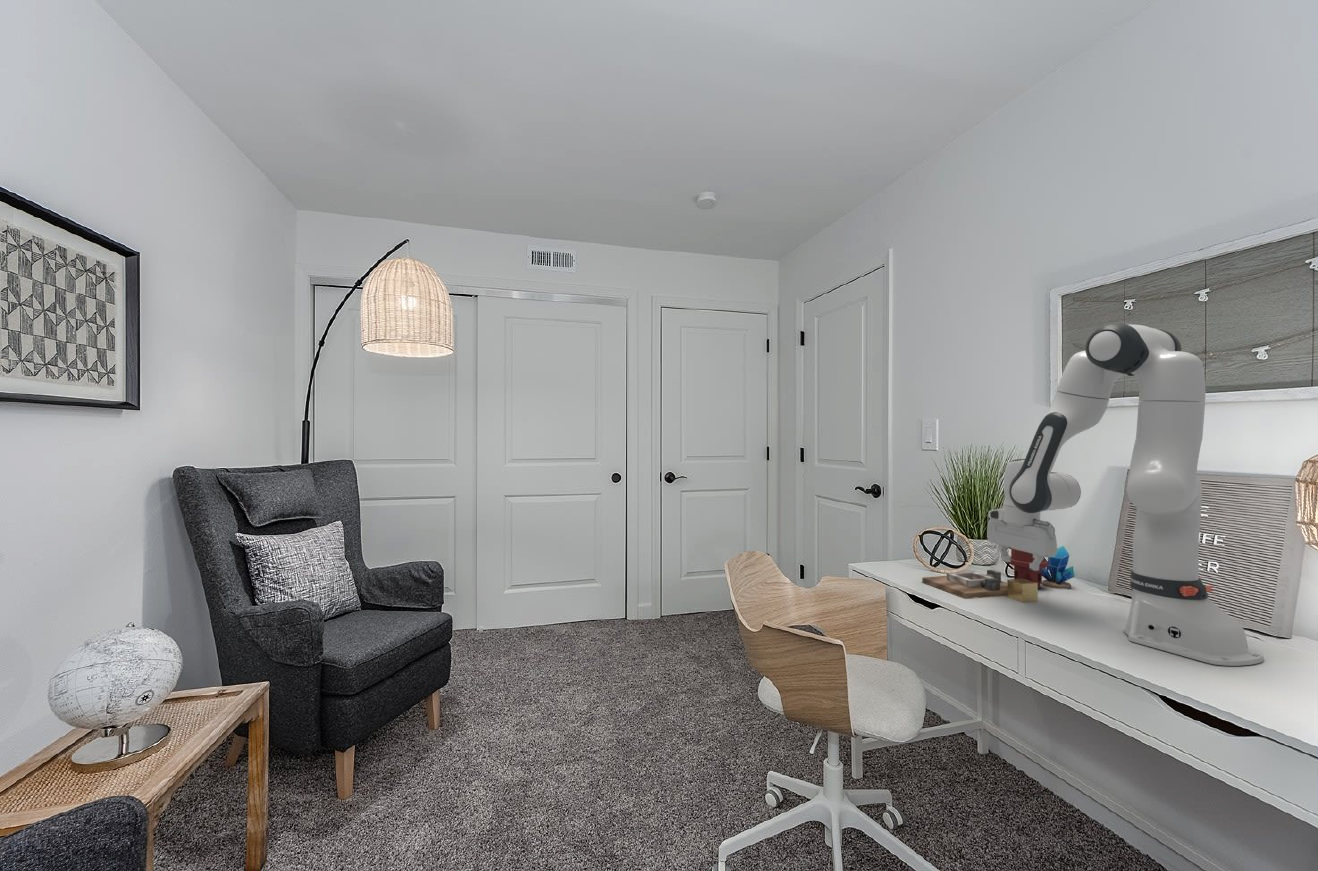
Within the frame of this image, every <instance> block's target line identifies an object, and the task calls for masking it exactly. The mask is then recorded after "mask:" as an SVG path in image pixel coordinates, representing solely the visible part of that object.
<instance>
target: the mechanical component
mask: <svg viewBox="0 0 1318 871" xmlns="http://www.w3.org/2000/svg"><path fill="white" fill-rule="evenodd" d="M1010 549H1011V552H1010V553H1011V554H1010V556H1011V558H1010V559H1011V561H1010V562H1007V563H1008V564H1009V565H1012V566H1013V579H1026V580H1029V581H1032V582H1036V583H1038V588H1040V587H1041V584H1042V581H1043V576H1042V568H1046V569H1047V568H1048V560H1046V559H1045V558H1044V559H1043V560H1042V562H1041V563H1040V564H1039V570H1038V571H1034V570H1031V569H1029V567H1030V566H1029V563H1032V562H1033V561H1034V559H1035V558H1033V554H1032V553H1028V552H1024V551H1021V550H1017V549H1013V548H1010Z"/></svg>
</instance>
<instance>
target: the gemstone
mask: <svg viewBox="0 0 1318 871" xmlns="http://www.w3.org/2000/svg"><path fill="white" fill-rule="evenodd" d="M1069 558H1070V553H1069V552H1068V550H1067V549H1066V548H1065V546H1064V545H1061V546H1059V547H1057V554H1056V555H1055V556H1054V557H1047V561H1048V567H1046V568H1042V578H1044V579H1042V583H1041V584H1042V585H1043V586H1045V587H1048V588H1052V589H1058V588H1069V589H1071V588H1072V584H1071V583H1070V582H1068V581H1069V580H1071V579H1073V578H1075V572H1074V566H1073V565H1072V566H1069V567H1068V568H1067V566H1068V563H1069Z"/></svg>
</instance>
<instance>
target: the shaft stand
mask: <svg viewBox="0 0 1318 871" xmlns="http://www.w3.org/2000/svg"><path fill="white" fill-rule="evenodd" d="M921 582H922V583H923V584H926V585H929V586H931V587H934V588H936V589H939V590H941V589H942V590H941V591H944V592H947V593H950V594H952V595H955V596H958V597H960V598H963V599H965V598H967V599H974V598H973V597H979V598H987V597H1000V596H1001V597H1002V596H1008V582H1005V581H1002V572H1001V571H998V570H993V569H987V570H986V574H983V573H980V572H976V571H962V572H946V575H939V576H925V577H924V576H923V577H921Z"/></svg>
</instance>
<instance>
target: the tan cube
mask: <svg viewBox="0 0 1318 871" xmlns="http://www.w3.org/2000/svg"><path fill="white" fill-rule="evenodd" d="M1006 583H1008V595H1007V598H1009V597H1010V598H1009V599H1012V600H1014V599H1015V601H1019V602H1021V603H1029V602H1038V601H1039V600H1038V596H1039V592H1038V590H1039V589H1038V583H1036V582H1032V581H1029V580H1026V579H1014V578H1009V579H1007V582H1006Z"/></svg>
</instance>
